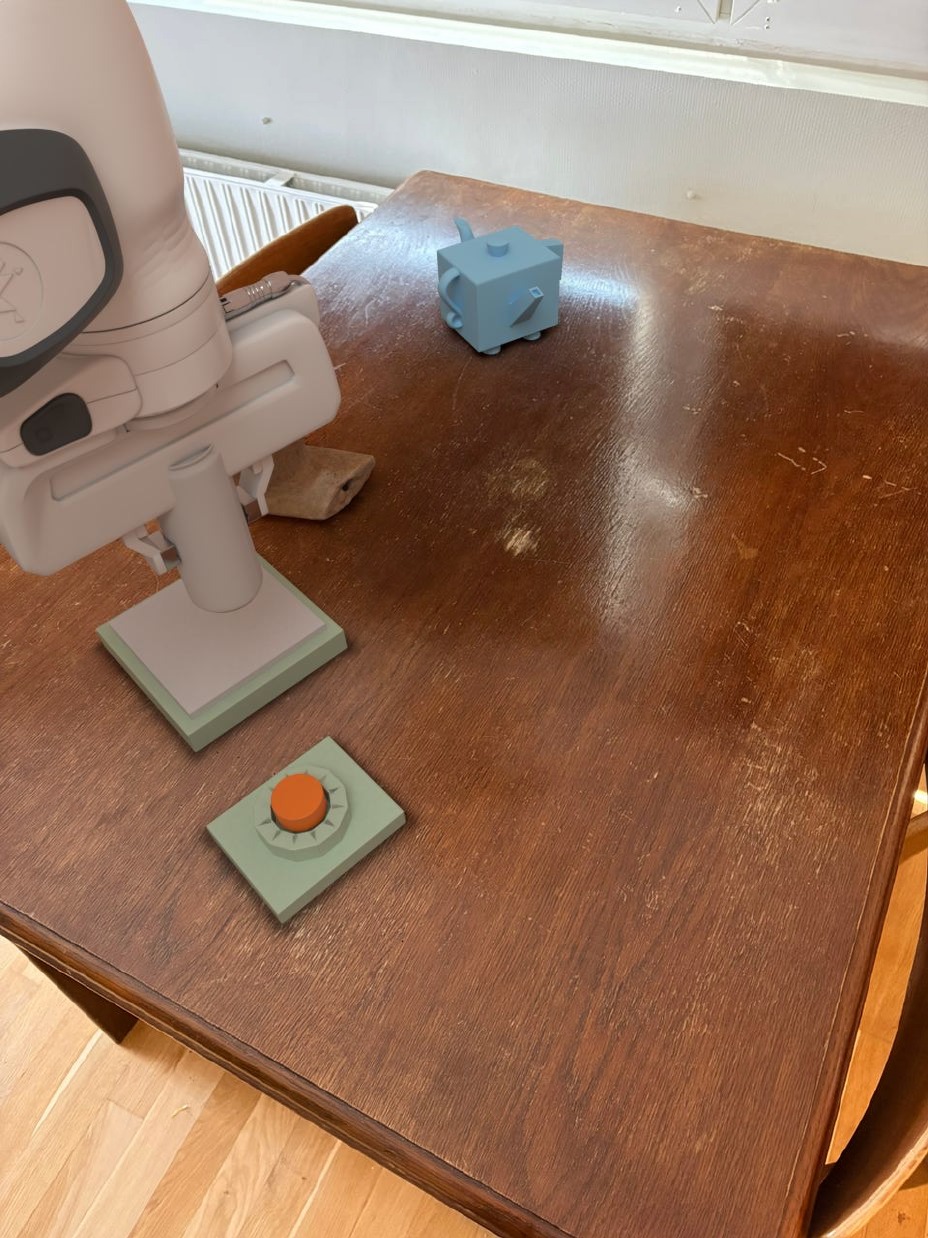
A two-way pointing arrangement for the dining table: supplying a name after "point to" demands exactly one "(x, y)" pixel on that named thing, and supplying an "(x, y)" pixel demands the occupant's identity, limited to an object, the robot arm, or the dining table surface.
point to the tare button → (299, 802)
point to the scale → (220, 653)
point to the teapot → (499, 286)
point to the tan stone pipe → (314, 480)
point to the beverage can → (211, 535)
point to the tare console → (307, 831)
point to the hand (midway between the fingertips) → (209, 539)
